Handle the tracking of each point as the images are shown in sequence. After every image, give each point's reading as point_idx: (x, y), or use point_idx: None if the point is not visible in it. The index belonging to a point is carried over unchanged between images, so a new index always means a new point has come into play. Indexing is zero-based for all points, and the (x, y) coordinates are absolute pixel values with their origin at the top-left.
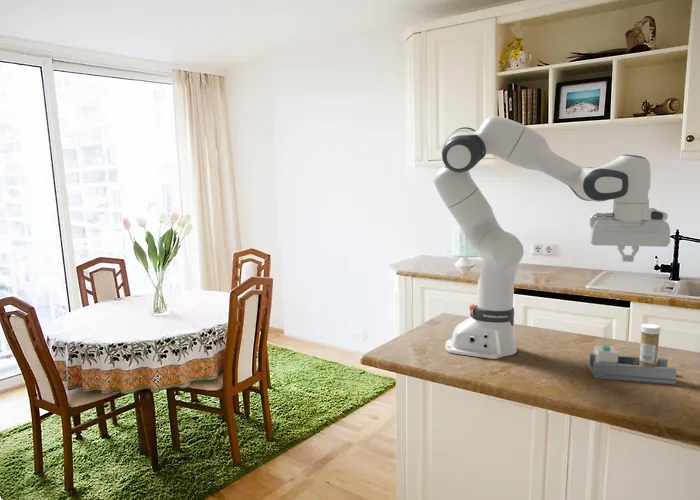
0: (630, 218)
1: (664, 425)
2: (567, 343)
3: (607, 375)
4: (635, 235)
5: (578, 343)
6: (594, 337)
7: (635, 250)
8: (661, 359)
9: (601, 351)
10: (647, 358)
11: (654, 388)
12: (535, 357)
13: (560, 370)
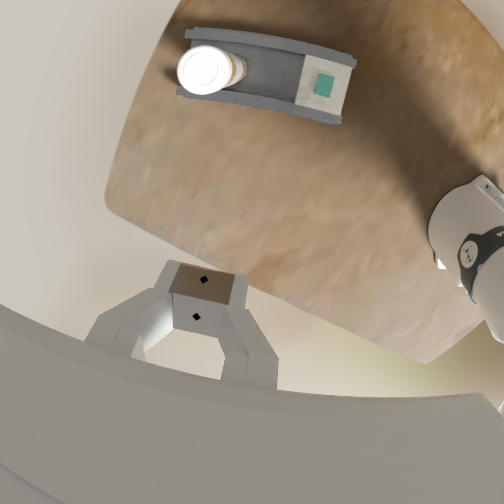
0: None
1: None
2: (315, 250)
3: (327, 49)
4: (70, 465)
5: (293, 249)
6: None
7: (126, 321)
8: None
9: (344, 67)
10: (232, 53)
11: (248, 6)
12: (416, 177)
13: (401, 103)
